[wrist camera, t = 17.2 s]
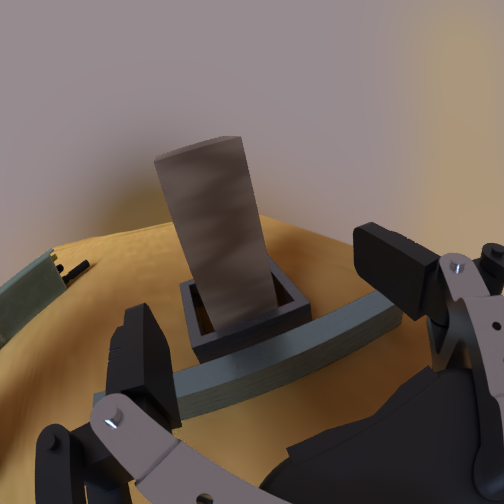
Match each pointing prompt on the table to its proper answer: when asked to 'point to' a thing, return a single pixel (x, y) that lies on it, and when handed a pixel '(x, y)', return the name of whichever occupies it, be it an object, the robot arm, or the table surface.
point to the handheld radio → (32, 292)
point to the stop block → (219, 228)
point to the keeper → (271, 345)
